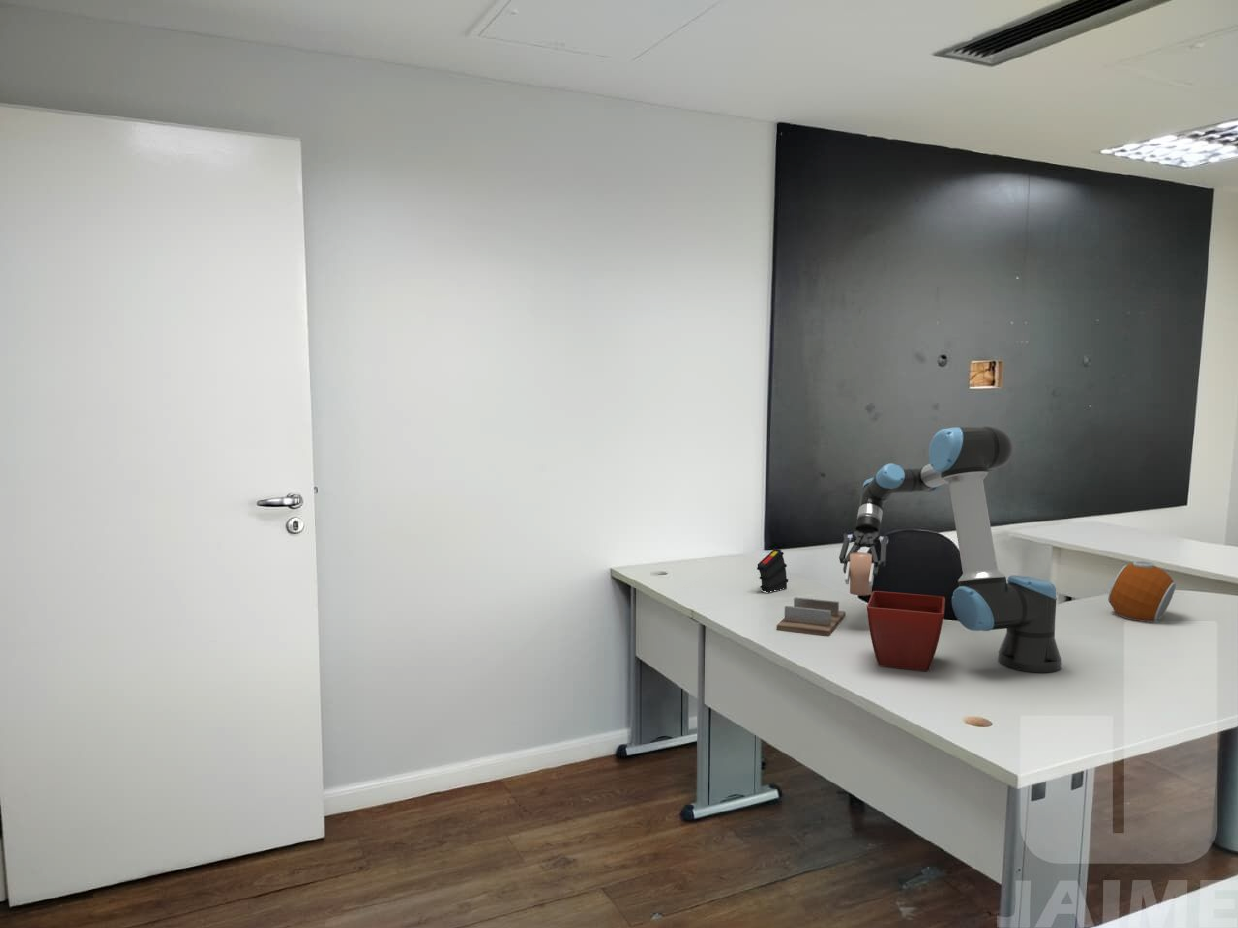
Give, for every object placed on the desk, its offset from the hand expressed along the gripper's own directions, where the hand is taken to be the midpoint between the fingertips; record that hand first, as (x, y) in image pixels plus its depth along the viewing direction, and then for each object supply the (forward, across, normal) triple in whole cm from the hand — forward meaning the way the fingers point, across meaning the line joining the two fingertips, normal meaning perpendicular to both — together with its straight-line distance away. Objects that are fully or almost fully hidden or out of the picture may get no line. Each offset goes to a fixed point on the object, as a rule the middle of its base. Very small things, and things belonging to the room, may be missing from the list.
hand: (858, 582), depth 256 cm
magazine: (-17, +38, -38) cm, 56 cm away
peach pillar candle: (0, 0, -5) cm, 5 cm away
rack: (+8, +15, -13) cm, 21 cm away
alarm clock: (-26, -78, -48) cm, 95 cm away
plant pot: (+28, -17, +6) cm, 33 cm away
